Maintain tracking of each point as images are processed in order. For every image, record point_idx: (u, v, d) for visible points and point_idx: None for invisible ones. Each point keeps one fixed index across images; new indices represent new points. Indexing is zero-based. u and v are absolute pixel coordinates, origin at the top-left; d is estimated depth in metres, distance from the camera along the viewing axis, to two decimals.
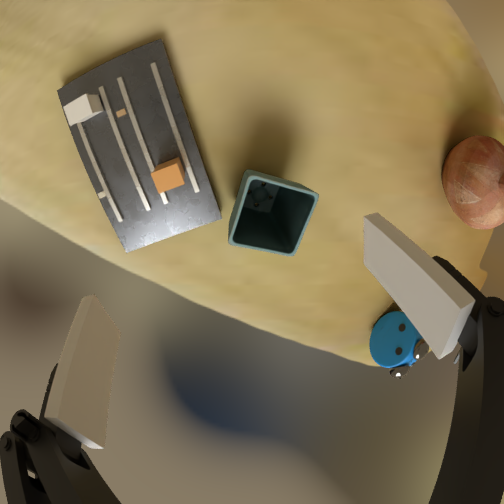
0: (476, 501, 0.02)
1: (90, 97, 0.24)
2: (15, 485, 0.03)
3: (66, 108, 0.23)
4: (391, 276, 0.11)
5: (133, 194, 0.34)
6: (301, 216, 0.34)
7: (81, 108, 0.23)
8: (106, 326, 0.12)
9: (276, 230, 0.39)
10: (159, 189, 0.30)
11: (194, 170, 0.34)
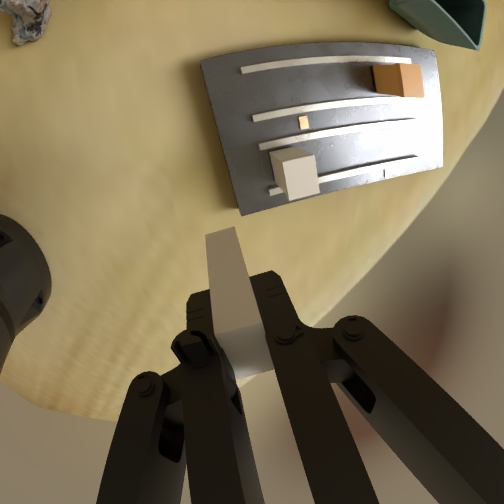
0: None
1: (284, 158, 0.21)
2: (134, 446, 0.05)
3: (293, 195, 0.21)
4: None
5: (398, 133, 0.25)
6: None
7: (303, 170, 0.20)
8: None
9: (449, 6, 0.15)
10: (420, 94, 0.18)
11: (387, 55, 0.20)
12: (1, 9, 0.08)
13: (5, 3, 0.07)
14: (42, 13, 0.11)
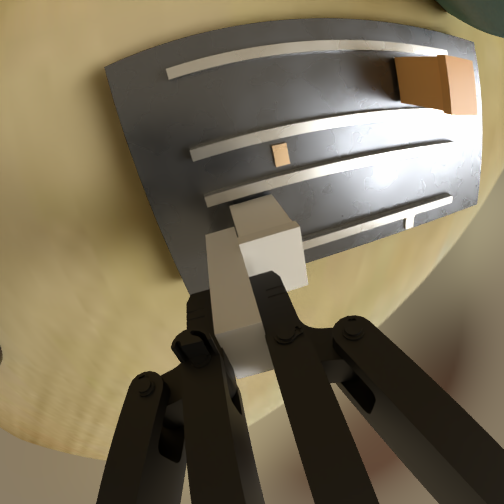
0: None
1: (246, 229, 0.12)
2: (134, 446, 0.05)
3: None
4: None
5: (427, 163, 0.16)
6: None
7: (278, 254, 0.12)
8: None
9: None
10: (473, 110, 0.10)
11: (415, 43, 0.11)
12: None
13: None
14: None
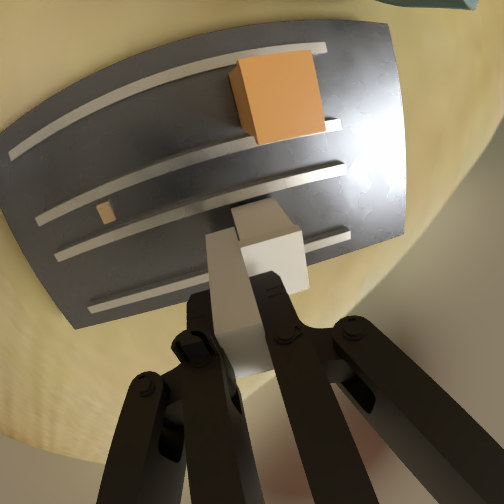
0: None
1: (247, 232, 0.12)
2: (134, 446, 0.05)
3: None
4: None
5: (301, 196, 0.16)
6: None
7: (279, 258, 0.12)
8: None
9: None
10: (314, 126, 0.09)
11: (270, 44, 0.11)
12: None
13: None
14: None
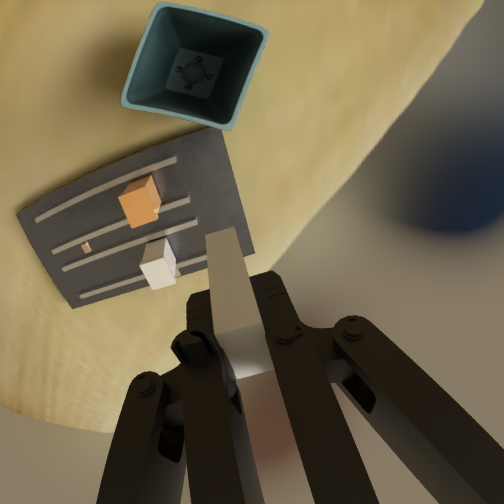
0: None
1: (145, 257, 0.26)
2: (134, 446, 0.05)
3: (154, 286, 0.27)
4: None
5: (177, 237, 0.30)
6: (203, 20, 0.15)
7: (157, 269, 0.26)
8: None
9: (242, 51, 0.20)
10: (151, 218, 0.23)
11: (148, 162, 0.25)
12: None
13: None
14: None
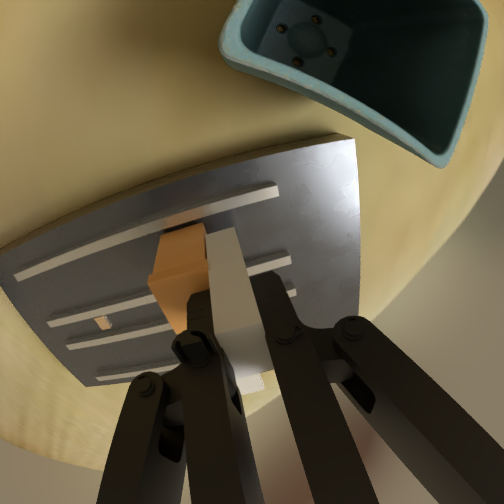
0: None
1: None
2: (134, 446, 0.05)
3: None
4: None
5: None
6: None
7: None
8: None
9: (402, 25, 0.09)
10: None
11: (222, 191, 0.14)
12: None
13: None
14: None
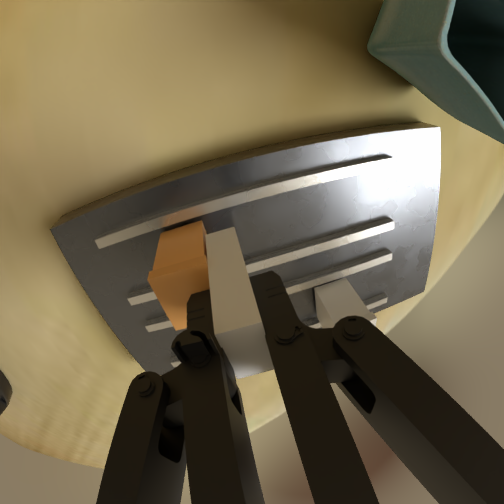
0: None
1: (337, 316, 0.16)
2: (134, 446, 0.05)
3: None
4: None
5: (356, 276, 0.19)
6: None
7: None
8: None
9: (474, 43, 0.10)
10: None
11: (351, 158, 0.15)
12: None
13: None
14: None
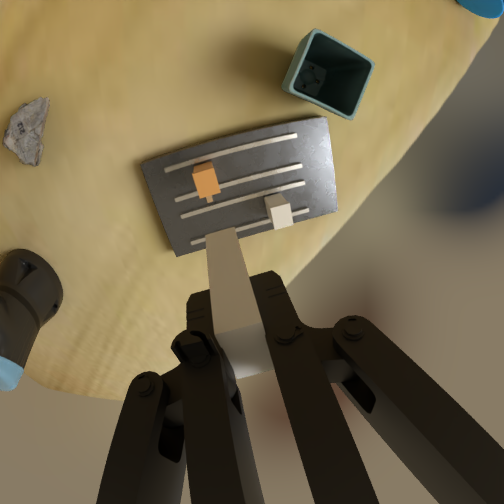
0: None
1: (271, 204, 0.36)
2: (134, 446, 0.05)
3: (277, 227, 0.37)
4: None
5: (287, 193, 0.40)
6: (335, 46, 0.25)
7: (282, 212, 0.36)
8: None
9: (346, 69, 0.30)
10: (216, 191, 0.33)
11: (275, 135, 0.35)
12: None
13: (11, 149, 0.24)
14: (37, 159, 0.28)
